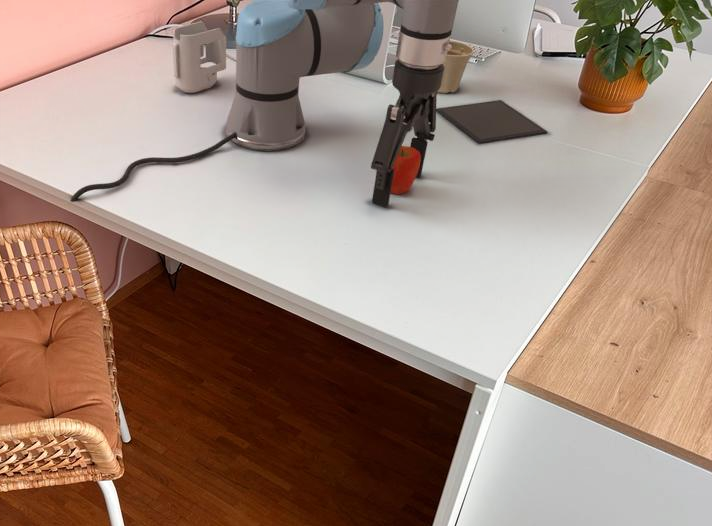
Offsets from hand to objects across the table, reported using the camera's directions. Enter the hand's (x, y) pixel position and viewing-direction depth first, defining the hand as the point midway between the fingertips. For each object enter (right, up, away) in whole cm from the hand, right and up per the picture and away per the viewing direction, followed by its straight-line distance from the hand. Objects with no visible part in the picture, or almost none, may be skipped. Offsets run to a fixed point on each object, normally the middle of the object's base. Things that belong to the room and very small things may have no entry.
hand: (397, 188), depth 122 cm
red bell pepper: (0, 0, 0) cm, 0 cm away
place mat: (+23, +19, +22) cm, 37 cm away
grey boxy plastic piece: (-36, +30, +31) cm, 56 cm away
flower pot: (+17, +30, +34) cm, 49 cm away
